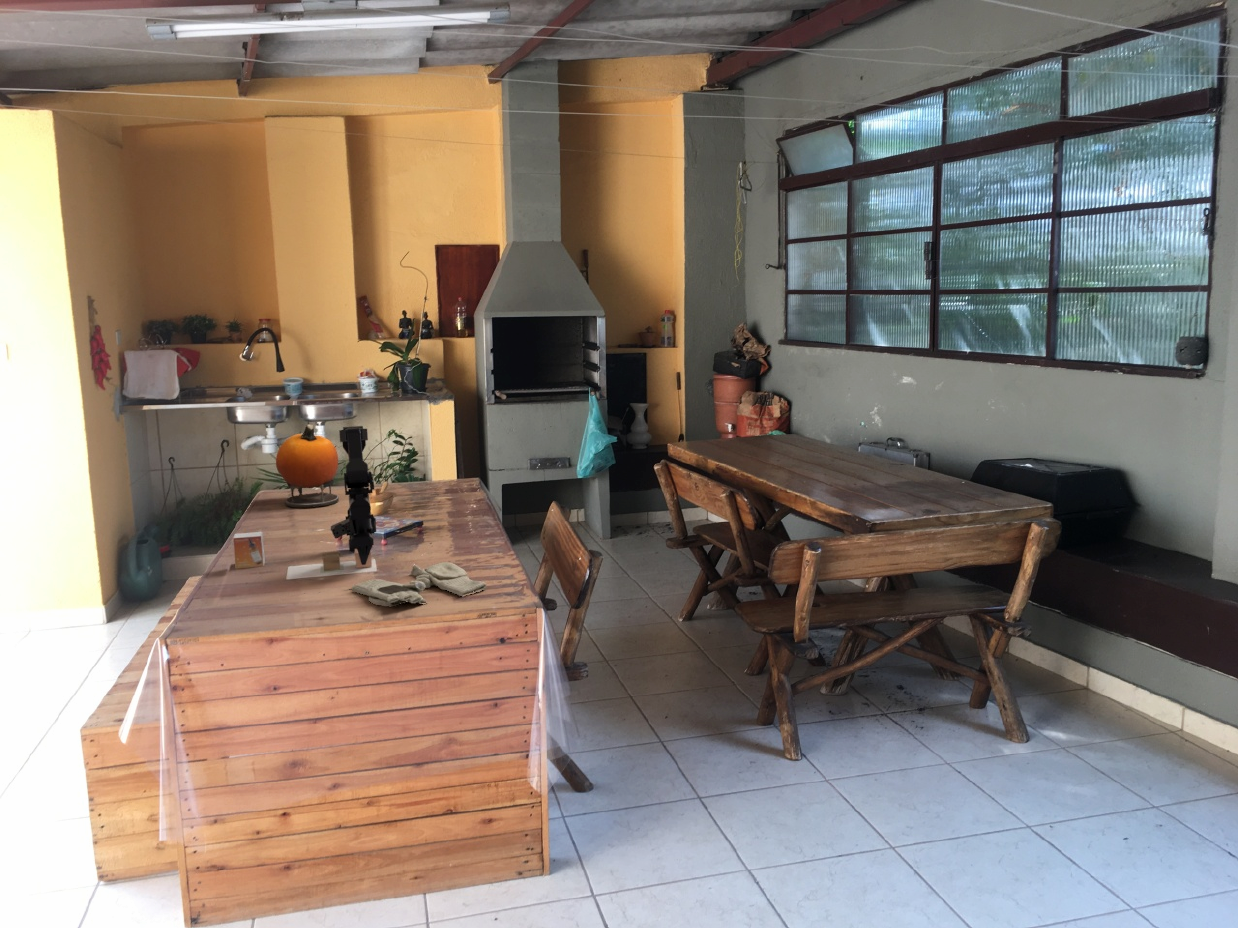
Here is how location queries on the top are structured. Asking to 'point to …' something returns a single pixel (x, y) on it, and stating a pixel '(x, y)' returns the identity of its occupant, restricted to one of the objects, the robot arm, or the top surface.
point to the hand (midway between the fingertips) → (363, 562)
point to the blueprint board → (318, 571)
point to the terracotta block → (358, 561)
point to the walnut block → (331, 560)
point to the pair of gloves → (419, 585)
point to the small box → (248, 550)
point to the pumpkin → (308, 468)
